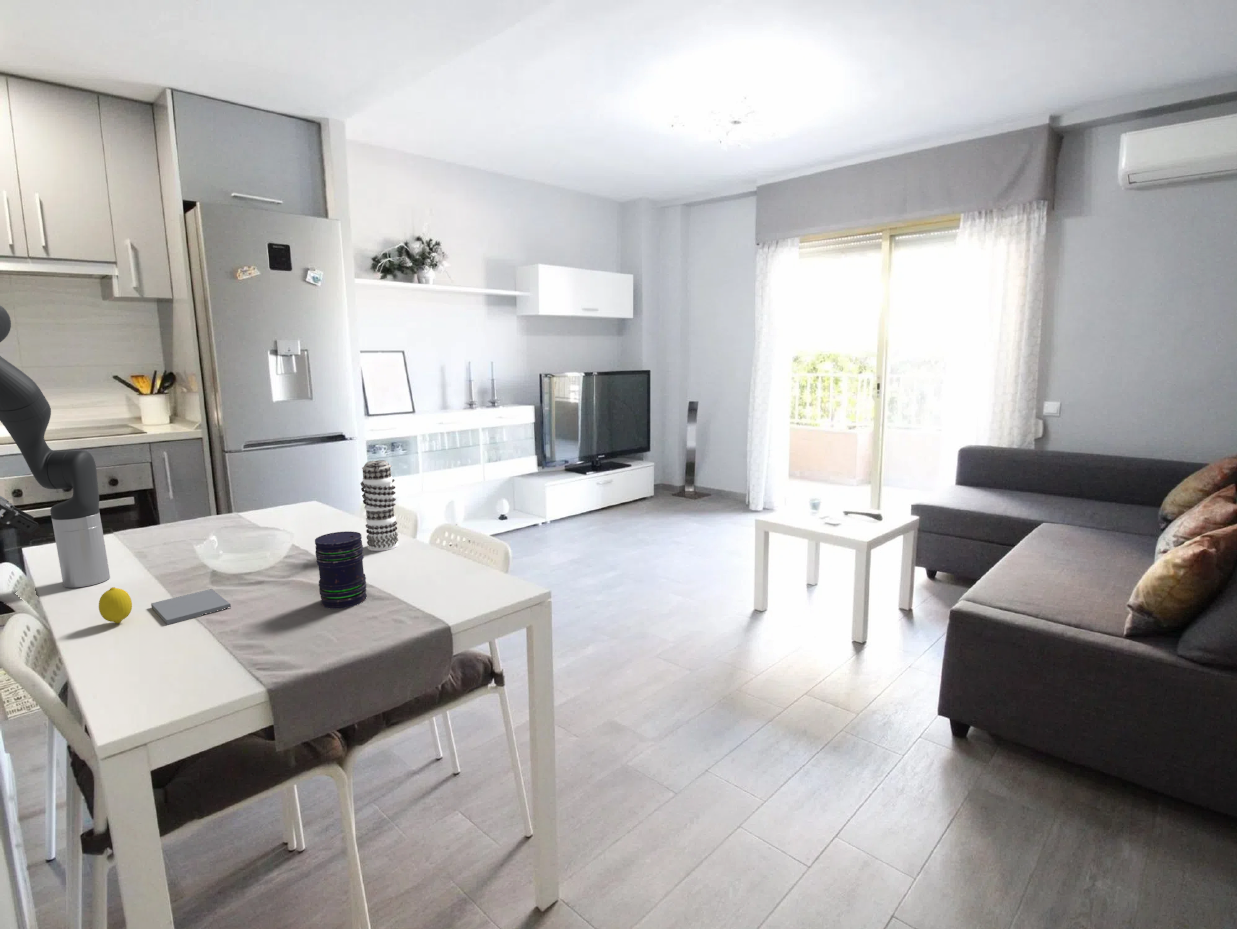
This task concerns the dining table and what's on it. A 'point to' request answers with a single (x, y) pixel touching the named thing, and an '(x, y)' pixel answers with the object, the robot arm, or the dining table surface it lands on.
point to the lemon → (115, 605)
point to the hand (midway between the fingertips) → (32, 525)
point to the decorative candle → (379, 505)
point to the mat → (189, 606)
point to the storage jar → (341, 569)
